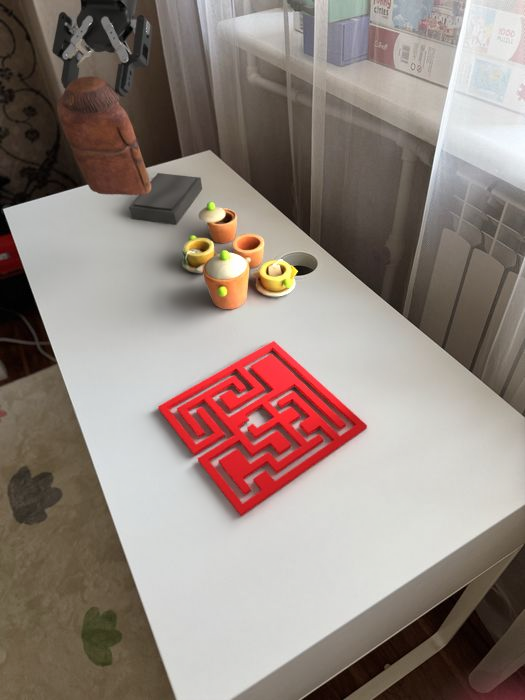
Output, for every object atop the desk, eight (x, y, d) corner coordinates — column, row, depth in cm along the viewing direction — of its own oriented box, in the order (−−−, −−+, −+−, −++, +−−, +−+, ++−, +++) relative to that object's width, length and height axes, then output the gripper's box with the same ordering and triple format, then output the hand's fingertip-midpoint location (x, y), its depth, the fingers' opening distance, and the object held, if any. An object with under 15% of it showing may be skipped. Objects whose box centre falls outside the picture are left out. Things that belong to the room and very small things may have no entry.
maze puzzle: (158, 409, 74) (157, 406, 73) (274, 343, 81) (273, 340, 81) (241, 516, 62) (240, 514, 62) (366, 428, 70) (367, 425, 69)
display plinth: (131, 218, 108) (127, 205, 106) (160, 184, 117) (157, 171, 115) (176, 224, 106) (174, 211, 104) (202, 189, 115) (200, 176, 113)
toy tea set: (308, 291, 90) (308, 243, 83) (226, 327, 85) (219, 279, 78) (233, 221, 106) (228, 175, 99) (161, 247, 101) (151, 202, 94)
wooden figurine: (160, 173, 90) (128, 67, 75) (150, 199, 86) (115, 92, 72) (94, 171, 92) (51, 67, 77) (82, 196, 88) (34, 92, 73)
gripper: (52, -43, 74) (35, 76, 75) (145, -42, 70) (125, 83, 71) (83, -8, 81) (67, 100, 82) (169, -6, 78) (151, 107, 79)
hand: (94, 92), depth 77 cm, fingers closed on wooden figurine, 8 cm apart
